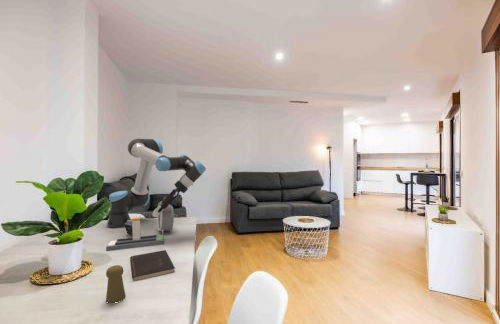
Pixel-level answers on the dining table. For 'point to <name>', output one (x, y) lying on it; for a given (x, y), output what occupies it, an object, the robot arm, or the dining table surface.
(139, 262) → the hardcover book
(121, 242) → the panel
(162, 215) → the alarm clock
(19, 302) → the dining table surface
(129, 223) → the electrical switch
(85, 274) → the dining table surface
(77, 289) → the dining table surface
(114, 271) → the cork
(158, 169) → the robot arm
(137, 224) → the breaker handle
